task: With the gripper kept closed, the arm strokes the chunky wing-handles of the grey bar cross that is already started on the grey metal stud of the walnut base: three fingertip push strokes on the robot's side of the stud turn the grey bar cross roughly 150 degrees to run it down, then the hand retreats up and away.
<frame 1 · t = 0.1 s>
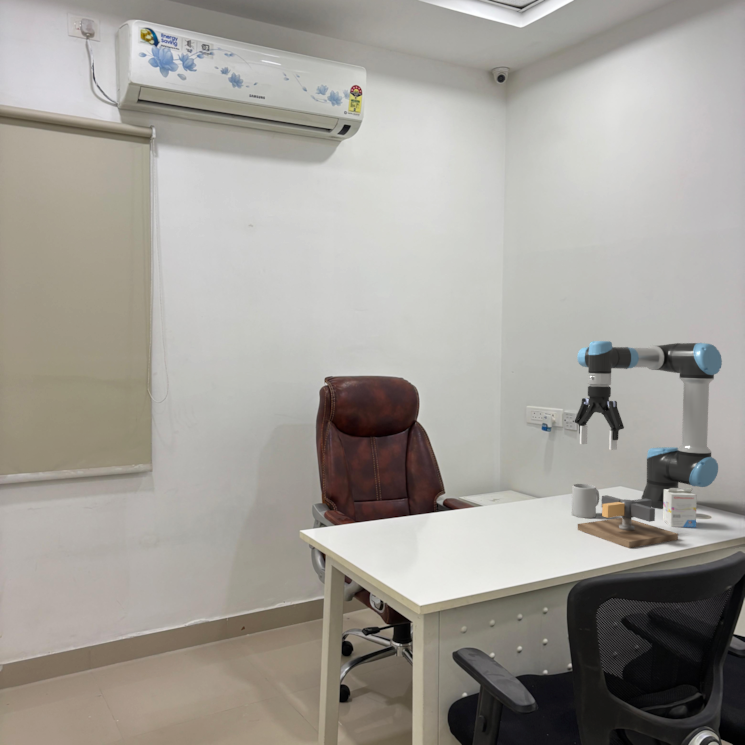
hand: (597, 446, 221), 28 cm above the table, fingers open, 13 cm apart
grey bar cross: (627, 508, 212), point 9 cm above the table, hinge at 0.0°
stud base: (626, 534, 212), on the table
ink box: (678, 524, 226), on the table
mug: (586, 515, 238), on the table
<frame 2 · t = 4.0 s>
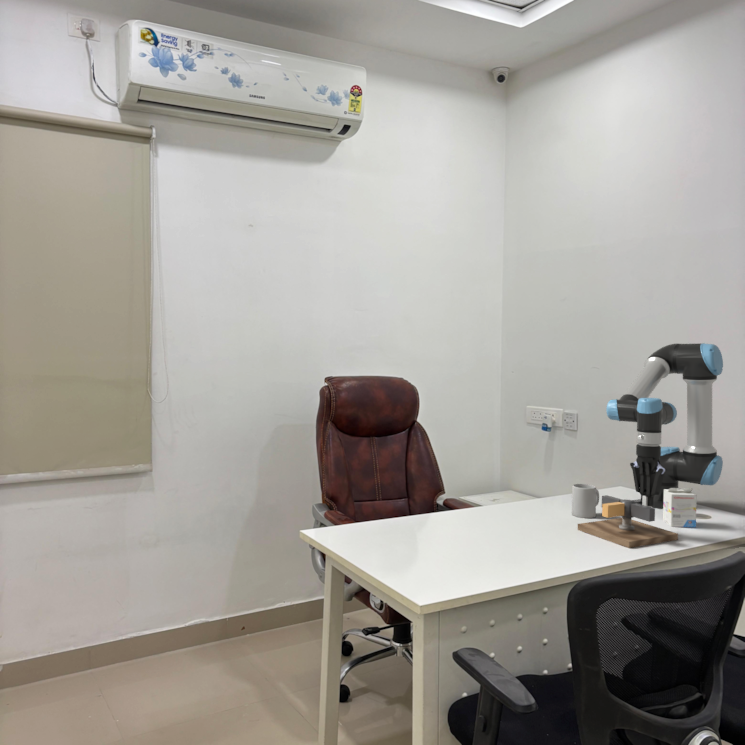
hand: (646, 514, 212), 7 cm above the table, fingers closed
grey bar cross: (627, 508, 212), point 9 cm above the table, hinge at 0.0°, touching gripper
everything else where it was.
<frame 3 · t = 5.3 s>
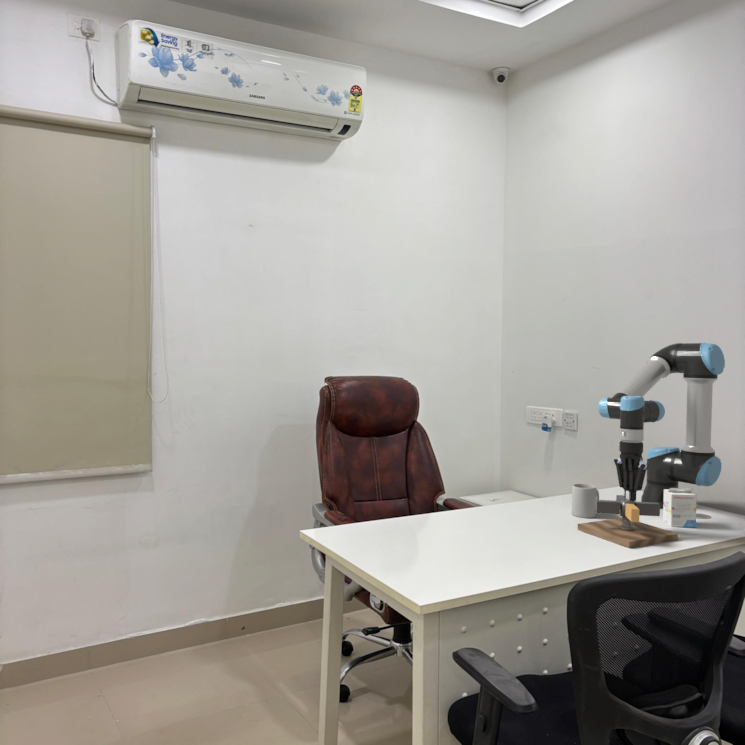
hand: (629, 509, 218), 7 cm above the table, fingers closed
grey bar cross: (627, 508, 212), point 9 cm above the table, hinge at 56.2°, touching gripper
everything else where it was.
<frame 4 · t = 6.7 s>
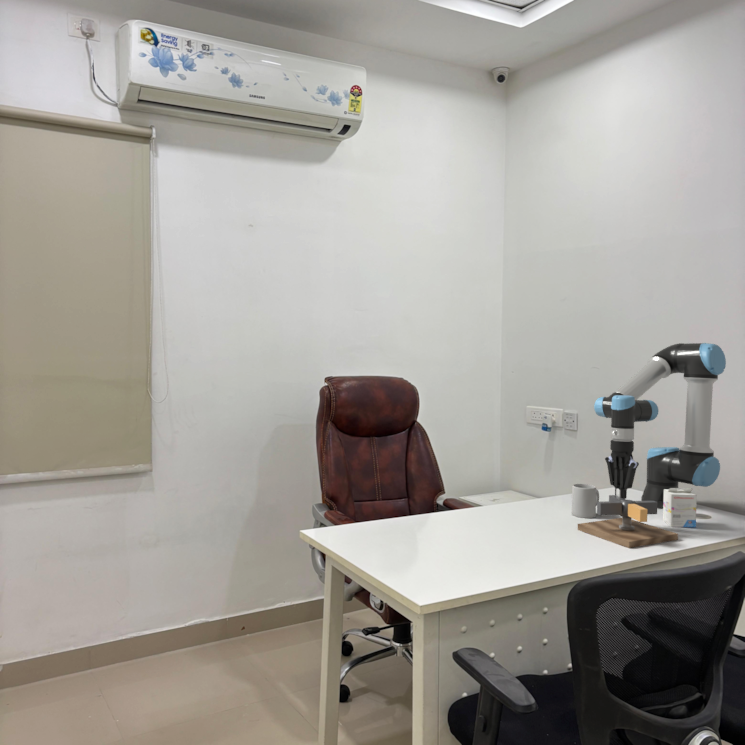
hand: (620, 507, 221), 7 cm above the table, fingers closed
grey bar cross: (627, 508, 212), point 9 cm above the table, hinge at 71.4°, touching gripper
everything else where it was.
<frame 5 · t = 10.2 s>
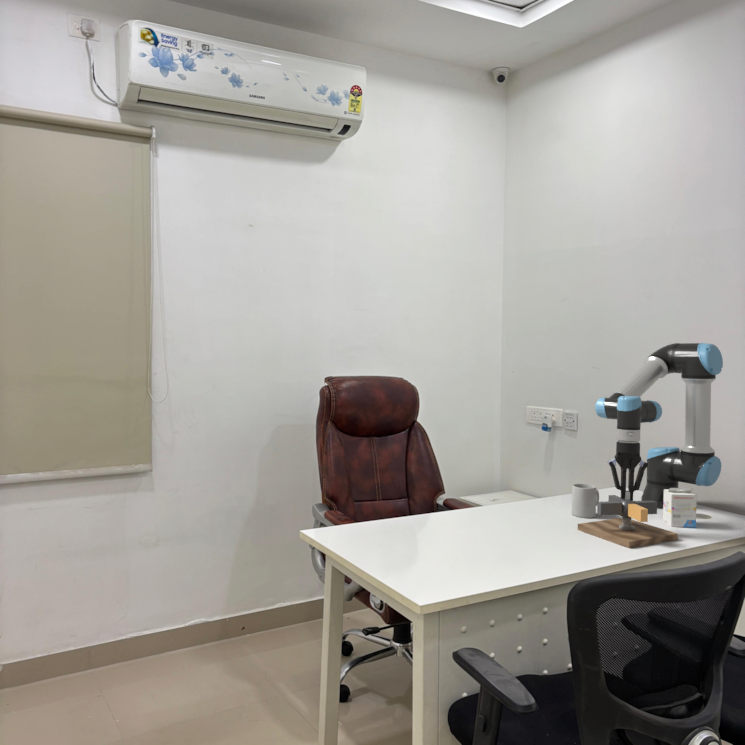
hand: (626, 510, 217), 7 cm above the table, fingers closed
grey bar cross: (627, 508, 212), point 9 cm above the table, hinge at 72.4°, touching gripper
everything else where it was.
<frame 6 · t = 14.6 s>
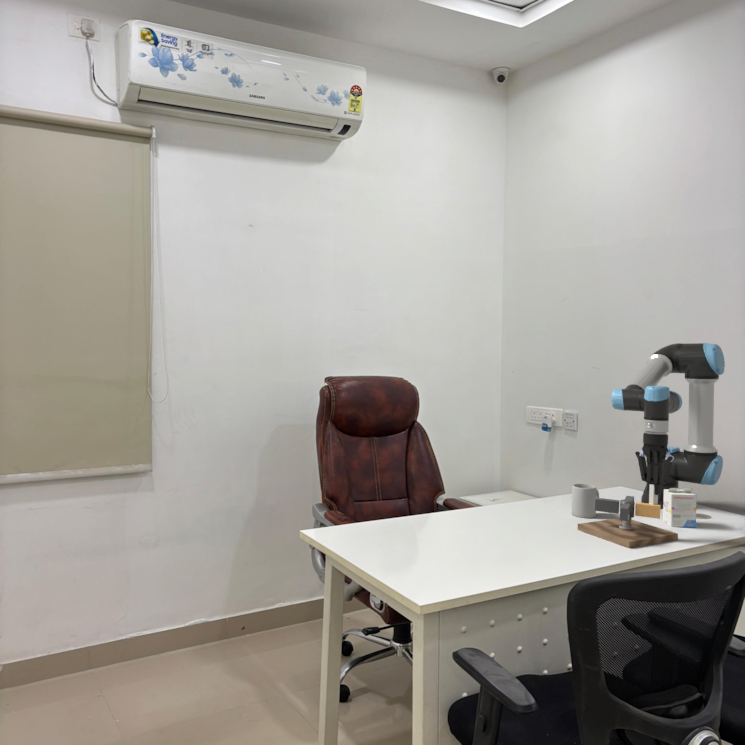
hand: (653, 503, 210), 11 cm above the table, fingers closed
grey bar cross: (627, 508, 212), point 9 cm above the table, hinge at 126.5°, touching gripper
everything else where it was.
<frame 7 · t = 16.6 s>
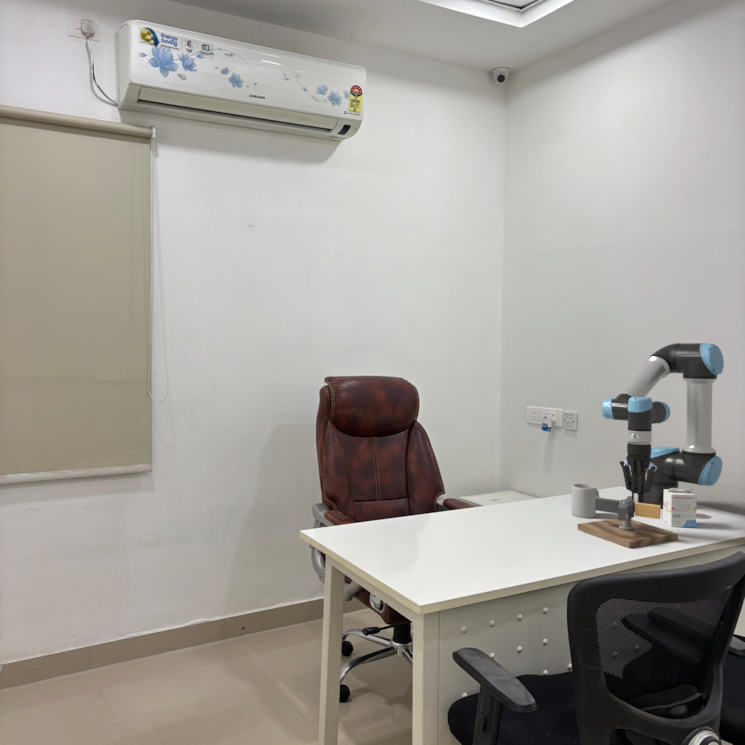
hand: (637, 512, 215), 7 cm above the table, fingers closed
grey bar cross: (627, 508, 212), point 9 cm above the table, hinge at 122.9°, touching gripper
everything else where it was.
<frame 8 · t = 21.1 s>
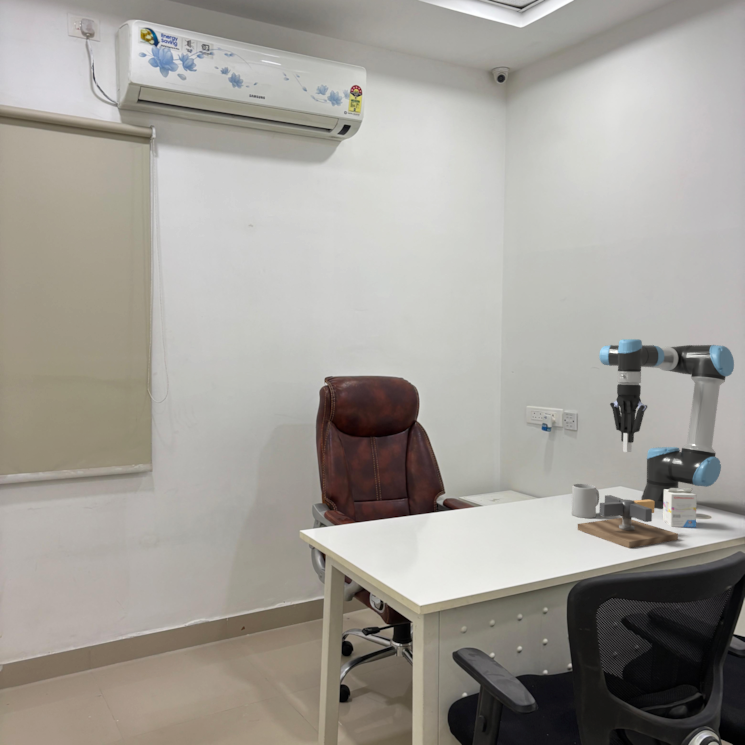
hand: (627, 451, 221), 26 cm above the table, fingers closed
grey bar cross: (627, 508, 212), point 9 cm above the table, hinge at 171.6°
everything else where it was.
at the end: grey bar cross at +172° (first picture: +0°) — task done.
